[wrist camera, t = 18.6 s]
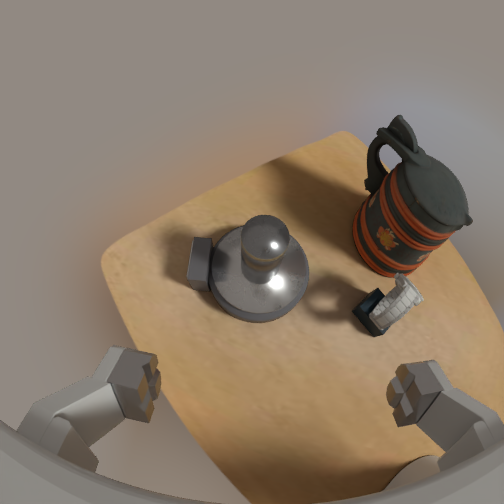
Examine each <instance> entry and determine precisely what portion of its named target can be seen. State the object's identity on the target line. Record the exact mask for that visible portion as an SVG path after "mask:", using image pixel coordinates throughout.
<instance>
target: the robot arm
mask: <svg viewBox="0 0 504 504" xmlns="http://www.w3.org/2000/svg"><path fill="white" fill-rule="evenodd" d="M157 365H158V359H157V355H155V354H152V353H147V352H143V351H138V350H134V349H130V348H124V347H120V346H117V345H113V346H111V347H110V348H109V350H108V351H107V353H106V355H105V356H104V358H103V359H102V361H101V363H100V364H99V366H98V367H97V369H96V371H95V373H94V374H93V376H92V377H86V378H84V379H82V380H80V381H78V382H76V383H74V384H72V385H70V386H68V387H66V388H64V389H62V390H60V391H58V392H56V393H54V394H52V395H50V396H48V397H45V398H43V399H41V400H39V401H37V402H36V403H34V404H33V406H32V407H31V409H30V410H29V412H28V413H27V415H26V416H25V418H24V420H23V421H22V423H21V425H20V426H19V428H18V430H17V431H15V430H14V429H12V428H11V427H9V426H8V425H6V424H5V423H4V422H2V421H1V420H0V504H220V503H211V502H203V501H197V500H190V499H184V498H179V497H174V496H169V495H165V494H161V493H156V492H152V491H149V490H144V489H141V488H138V487H134V486H131V485H128V484H125V483H122V482H119V481H116V480H113V479H110V478H107V477H105V476H102V475H99V474H97V473H95V471H96V468H97V465H98V463H99V461H98V459H97V458H96V456H95V455H94V454H93V452H92V451H91V450H90V449H89V447H90V446H91V445H92V444H94V443H95V442H96V441H98V440H99V439H100V438H102V437H103V436H104V435H105V434H107V433H108V432H109V431H111V430H112V429H113V428H115V427H116V426H117V425H118V424H120V423H121V422H122V421H123V420H124V419H125V418H128V419H132V420H136V421H141V422H145V423H149V422H150V419H151V416H152V413H153V411H154V405H153V401H154V400H155V399H157V398H158V396H159V393H160V388H161V374H160V371H159V370H158V369H157V368H156V367H157ZM395 373H396V377H394V378H393V379H392V380H391V381H390V383H389V384H388V386H387V392H386V396H387V401H388V403H389V405H390V406H392V407H393V408H394V411H393V416H394V419H395V421H396V424H397V426H398V427H402V426H407V425H412V424H416V425H417V426H418V427H419V428H420V429H421V430H422V431H423V432H425V433H426V434H427V435H428V436H429V437H430V438H431V439H432V440H433V441H434V442H435V443H436V444H438V445H439V446H440V447H441V448H442V449H443V450H444V451H445V452H446V453H445V454H443V455H442V456H441V457H438V456H432V455H431V456H425V457H422V458H419V459H417V460H415V461H413V462H412V463H410V464H409V465H407V466H406V467H405V468H404V469H402V470H401V471H400V472H399V473H398V474H397V475H396V476H395V477H394V478H393V480H392V481H391V482H390V483H389V485H388V486H387V487H386V488H385V489H384V490H383V491H381V492H377V493H373V494H369V495H365V496H360V497H355V498H350V499H344V500H338V501H331V502H323V503H314V504H504V424H503V423H502V421H501V419H500V418H499V416H498V414H497V412H495V411H493V410H492V409H490V408H489V407H487V406H485V405H484V404H482V403H480V402H479V401H477V400H476V399H474V398H472V397H471V396H469V395H467V394H466V393H464V392H463V391H461V390H459V389H458V388H453V386H452V385H451V383H450V381H449V380H448V378H447V377H446V375H445V374H444V372H443V370H442V369H441V367H440V366H439V364H438V363H437V362H436V361H435V360H429V361H423V362H415V363H407V364H401V365H400V366H399V367H398V368H397V370H396V372H395Z"/></svg>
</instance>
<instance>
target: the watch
mask: <svg viewBox="0 0 504 504" xmlns="http://www.w3.org/2000/svg"><path fill="white" fill-rule="evenodd" d="M394 278H395V279H396V280H395V284H396V285H397V286H396V287H394V288H393V289H392V290H391V291H390V292H389V293H388V294H387V295H386V296H385V295H384V294H383V293H382V292H381V291H380V289H379V288H376V289H375V290H373V291H372V292H370V293H369V294H368V295H367V296H366V297H365V298H364V299H363V300H362V301H361V302H360V303H359V304H358V305H357V306H356V307H355V308H354V309H353V310H352V312H353V313H354V315H355V316H356V317H357V318H358V319H359V320H360V322H361V323H362V324H363V325H364V326H365V327H366V329H367V330H368V331H369V332H370V333H371V335H372V336H373V337H377V336H380V335H383V334H384V333H385V332H386V331H387V330H388V329H389V327H390V326H391V325H392V324H393V323H395V322H397V321H398V320H399V319H401V318H402V317H403V316H404V315H405V314H406V313H407V312H408V311H409V310H410V309H411V308H412V307H413V306H414V305H415V306H417V305H419V304H420V302H421V301H423V300H424V299H423V297H422V295H421V294H420V292H419V291H418V289H417V288H416V287H415V286H414V284H413V283H412V282H411V281H410V280H409V279H408V278H407V277H406V276H405V275H403V274H400V275H399V274H398V273H397V274H396V275H395V276H394ZM391 295H392V296H391ZM395 306H396V307H397V308H396V307H395ZM399 311H400V312H401V313H400V312H399ZM403 312H404V313H403Z"/></svg>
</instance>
